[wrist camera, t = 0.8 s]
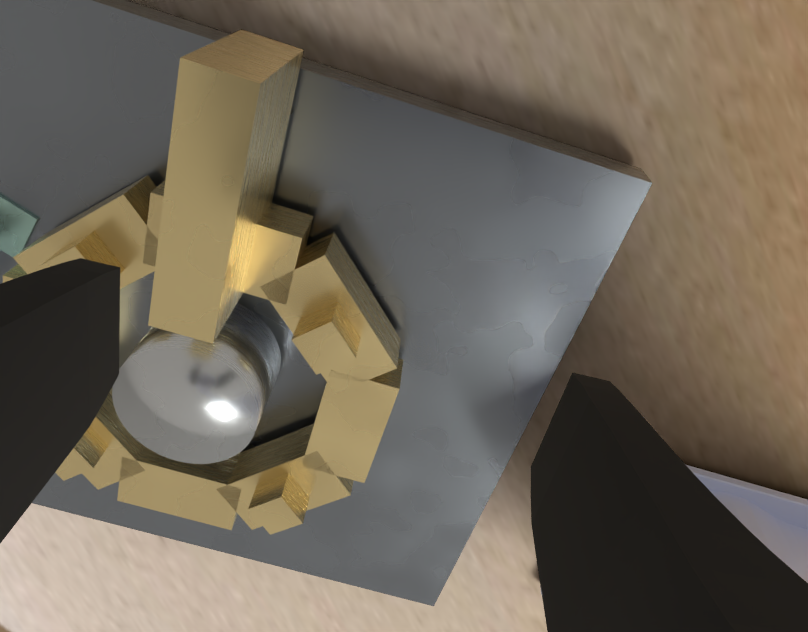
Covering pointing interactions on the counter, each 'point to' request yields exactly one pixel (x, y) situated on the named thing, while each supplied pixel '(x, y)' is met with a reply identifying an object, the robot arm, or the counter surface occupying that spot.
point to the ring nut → (236, 296)
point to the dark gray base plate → (368, 249)
